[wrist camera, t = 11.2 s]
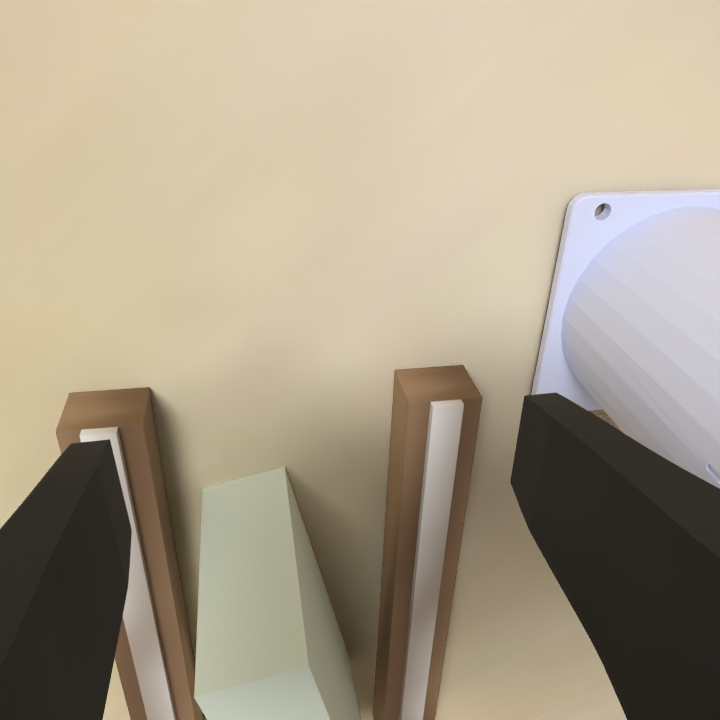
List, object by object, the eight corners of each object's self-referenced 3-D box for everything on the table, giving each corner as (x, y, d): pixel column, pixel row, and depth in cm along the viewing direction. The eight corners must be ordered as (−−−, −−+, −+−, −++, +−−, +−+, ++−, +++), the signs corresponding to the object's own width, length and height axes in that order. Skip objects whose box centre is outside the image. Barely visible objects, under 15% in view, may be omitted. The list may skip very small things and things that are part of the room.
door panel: (284, 464, 24) (308, 665, 17) (349, 658, 30) (386, 859, 23) (202, 486, 23) (194, 698, 17) (286, 676, 30) (304, 884, 23)
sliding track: (463, 365, 23) (485, 402, 21) (420, 707, 33) (432, 754, 31) (69, 393, 21) (53, 437, 19) (154, 749, 31) (149, 802, 29)
